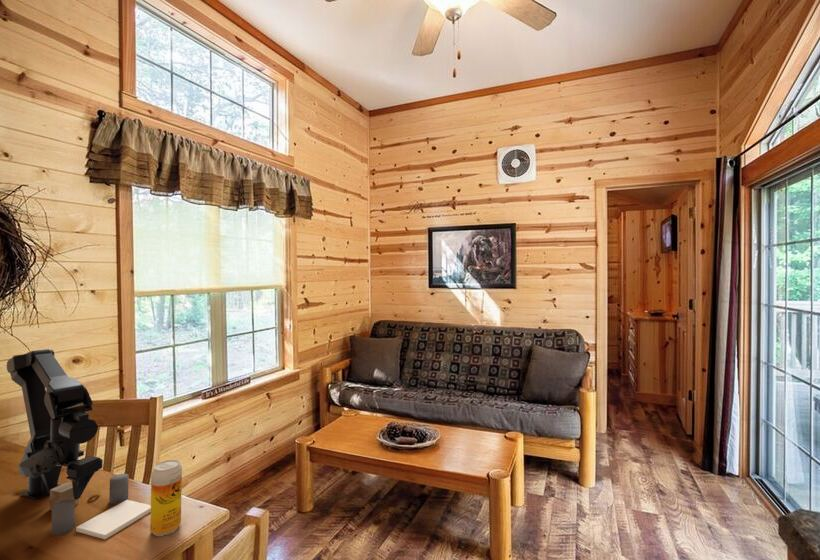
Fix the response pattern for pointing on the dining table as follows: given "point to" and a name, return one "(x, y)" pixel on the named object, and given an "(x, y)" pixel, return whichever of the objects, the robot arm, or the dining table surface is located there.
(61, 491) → the walnut block
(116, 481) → the post
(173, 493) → the yellow canister
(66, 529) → the post
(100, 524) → the ceramic tile
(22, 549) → the dining table surface
